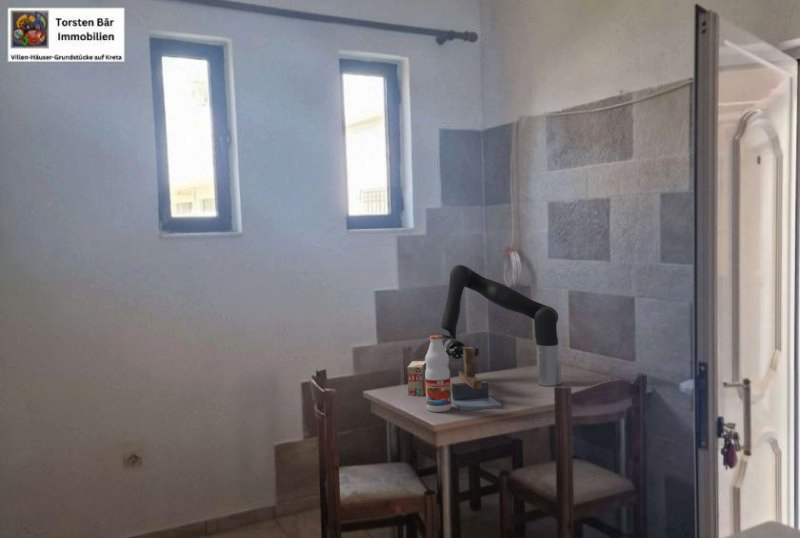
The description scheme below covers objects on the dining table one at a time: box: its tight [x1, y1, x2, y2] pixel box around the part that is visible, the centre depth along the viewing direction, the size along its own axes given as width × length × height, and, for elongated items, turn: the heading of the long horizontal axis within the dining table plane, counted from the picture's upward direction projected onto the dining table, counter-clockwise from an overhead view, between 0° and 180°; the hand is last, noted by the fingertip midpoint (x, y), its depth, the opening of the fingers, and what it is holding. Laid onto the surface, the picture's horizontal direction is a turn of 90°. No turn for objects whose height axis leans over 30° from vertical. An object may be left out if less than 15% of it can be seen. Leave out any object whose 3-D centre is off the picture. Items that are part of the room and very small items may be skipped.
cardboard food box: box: [406, 360, 427, 396], centre depth 268 cm, size 21×6×12 cm, turn 169°
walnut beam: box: [458, 346, 482, 389], centre depth 246 cm, size 4×20×14 cm, turn 11°
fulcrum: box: [451, 380, 502, 412], centre depth 246 cm, size 16×26×7 cm, turn 11°
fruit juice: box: [424, 334, 452, 413], centre depth 235 cm, size 9×9×28 cm
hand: (465, 354), depth 250 cm, fingers open, 8 cm apart
